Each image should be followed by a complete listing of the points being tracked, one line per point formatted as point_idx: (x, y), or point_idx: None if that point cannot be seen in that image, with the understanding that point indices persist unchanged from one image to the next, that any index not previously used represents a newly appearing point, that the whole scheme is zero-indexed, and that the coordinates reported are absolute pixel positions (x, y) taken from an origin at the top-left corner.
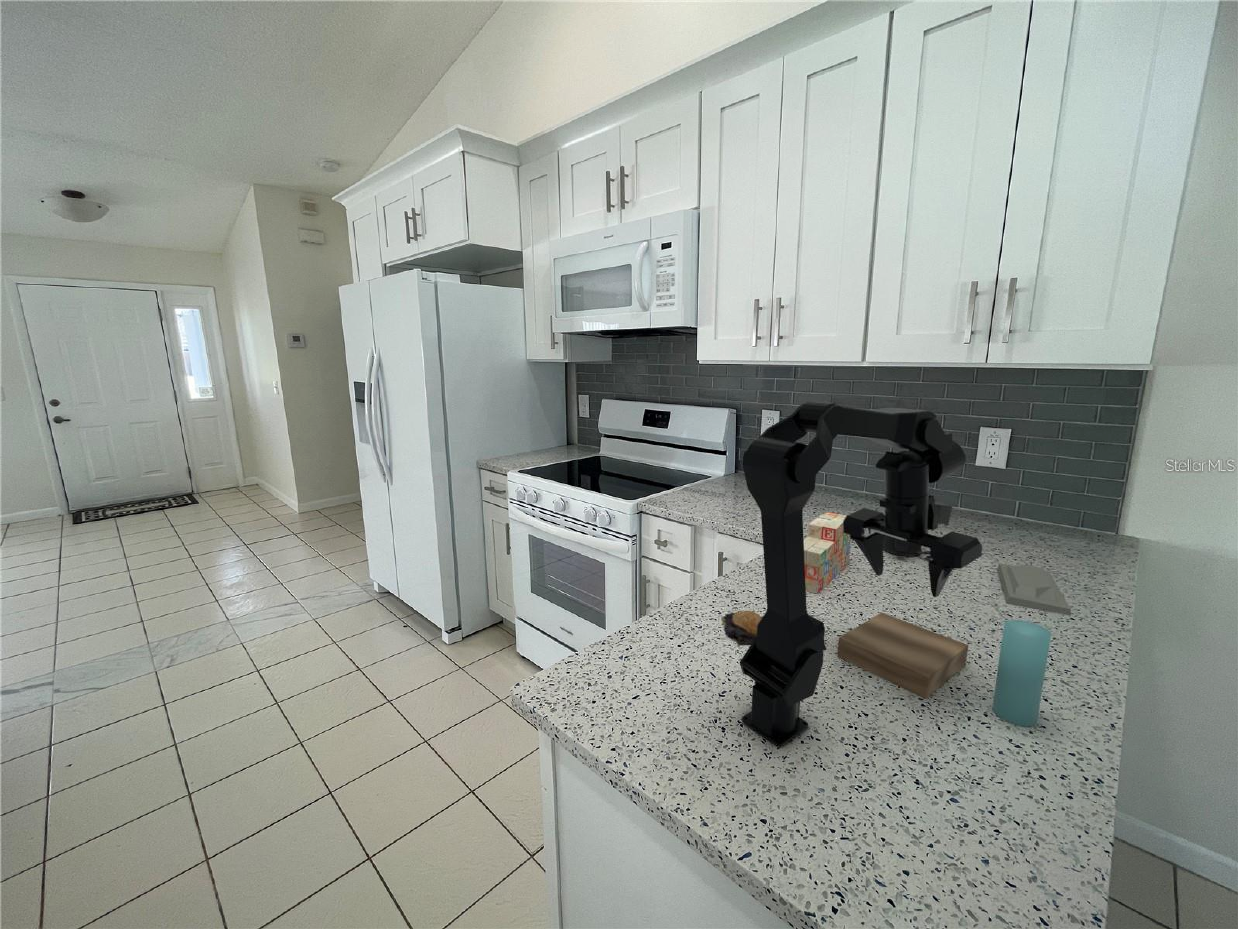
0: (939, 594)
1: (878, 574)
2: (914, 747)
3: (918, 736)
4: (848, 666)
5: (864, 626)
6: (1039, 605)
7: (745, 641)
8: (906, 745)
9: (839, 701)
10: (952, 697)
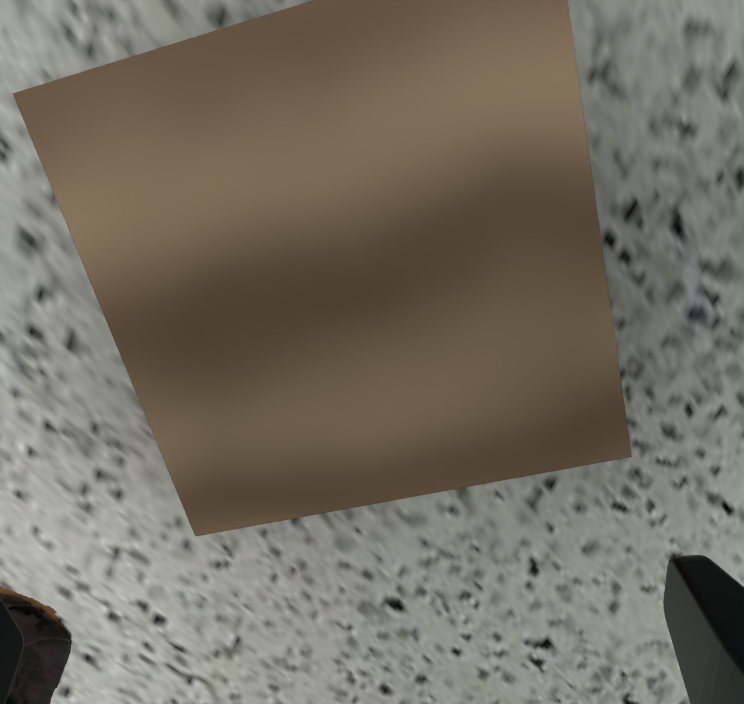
0: (709, 562)
1: (17, 662)
2: None
3: None
4: None
5: (140, 344)
6: None
7: (30, 696)
8: None
9: (454, 662)
10: (654, 299)
